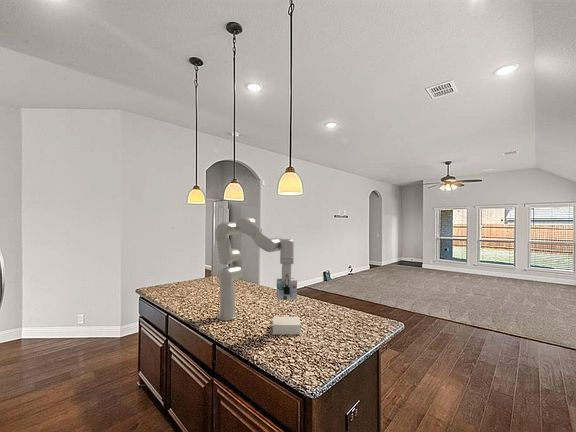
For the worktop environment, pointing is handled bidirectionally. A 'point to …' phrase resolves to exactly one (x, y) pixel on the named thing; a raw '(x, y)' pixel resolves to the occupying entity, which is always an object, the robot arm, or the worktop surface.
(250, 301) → the worktop surface
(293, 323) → the plinth
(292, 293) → the light bulb box
